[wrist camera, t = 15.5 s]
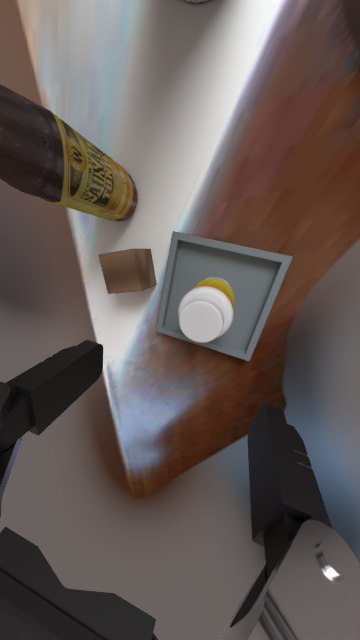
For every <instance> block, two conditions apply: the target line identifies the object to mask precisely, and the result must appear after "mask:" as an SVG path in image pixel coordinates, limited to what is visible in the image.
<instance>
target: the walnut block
mask: <svg viewBox="0 0 360 640" xmlns="http://www.w3.org/2000/svg"><path fill="white" fill-rule="evenodd" d="M99 259H100V263H101V267H102V271H103V275H104V279H105V283H106V287H107V290H108V294H112V293H123V292H134V291H142V290H145V289H147V288H149V287H152V286H154V285H156V284H157V283H156V278H155V272H154V266H153V260H152V254H151V249H129V250H124V251H118V252H112V253H106V254H100V255H99Z"/></svg>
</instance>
